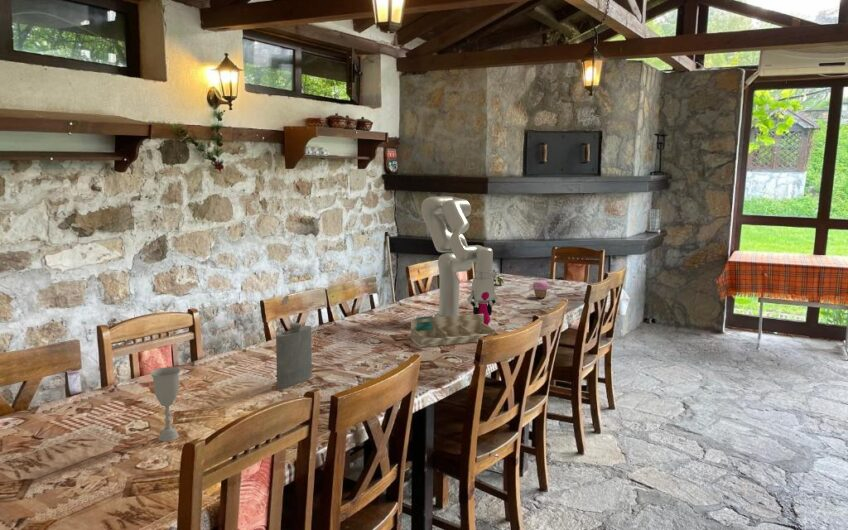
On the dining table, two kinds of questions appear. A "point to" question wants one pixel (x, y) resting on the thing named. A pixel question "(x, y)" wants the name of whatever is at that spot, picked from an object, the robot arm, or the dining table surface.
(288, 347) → the hip flask
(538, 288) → the cupcake
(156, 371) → the chalice
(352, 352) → the dining table surface
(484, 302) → the pepper mill
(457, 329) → the rack
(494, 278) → the passion flower
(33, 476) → the dining table surface
